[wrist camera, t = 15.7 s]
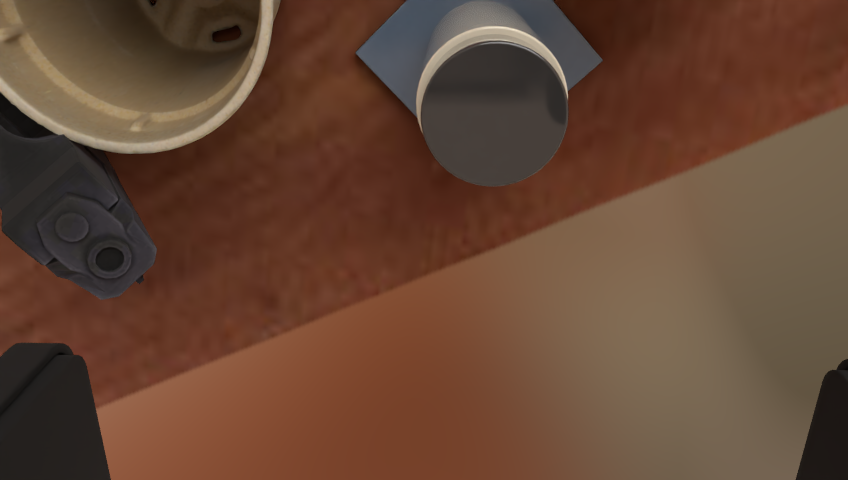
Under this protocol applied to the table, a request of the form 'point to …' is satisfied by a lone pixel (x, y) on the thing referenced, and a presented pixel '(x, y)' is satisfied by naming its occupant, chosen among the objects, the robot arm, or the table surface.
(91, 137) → the flower pot
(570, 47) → the coaster
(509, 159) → the spice bottle
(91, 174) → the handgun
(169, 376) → the table surface
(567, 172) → the table surface
